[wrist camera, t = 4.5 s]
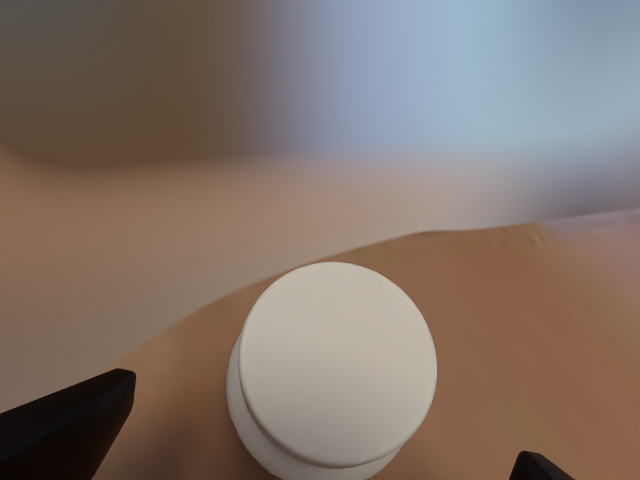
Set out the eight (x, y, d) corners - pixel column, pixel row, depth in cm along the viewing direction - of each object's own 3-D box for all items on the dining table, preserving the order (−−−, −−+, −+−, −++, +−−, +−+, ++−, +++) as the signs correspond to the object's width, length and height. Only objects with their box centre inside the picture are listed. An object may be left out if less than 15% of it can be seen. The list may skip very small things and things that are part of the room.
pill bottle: (326, 327, 19) (374, 213, 11) (389, 438, 17) (513, 401, 8) (220, 382, 17) (177, 293, 9) (274, 516, 15) (286, 569, 6)
